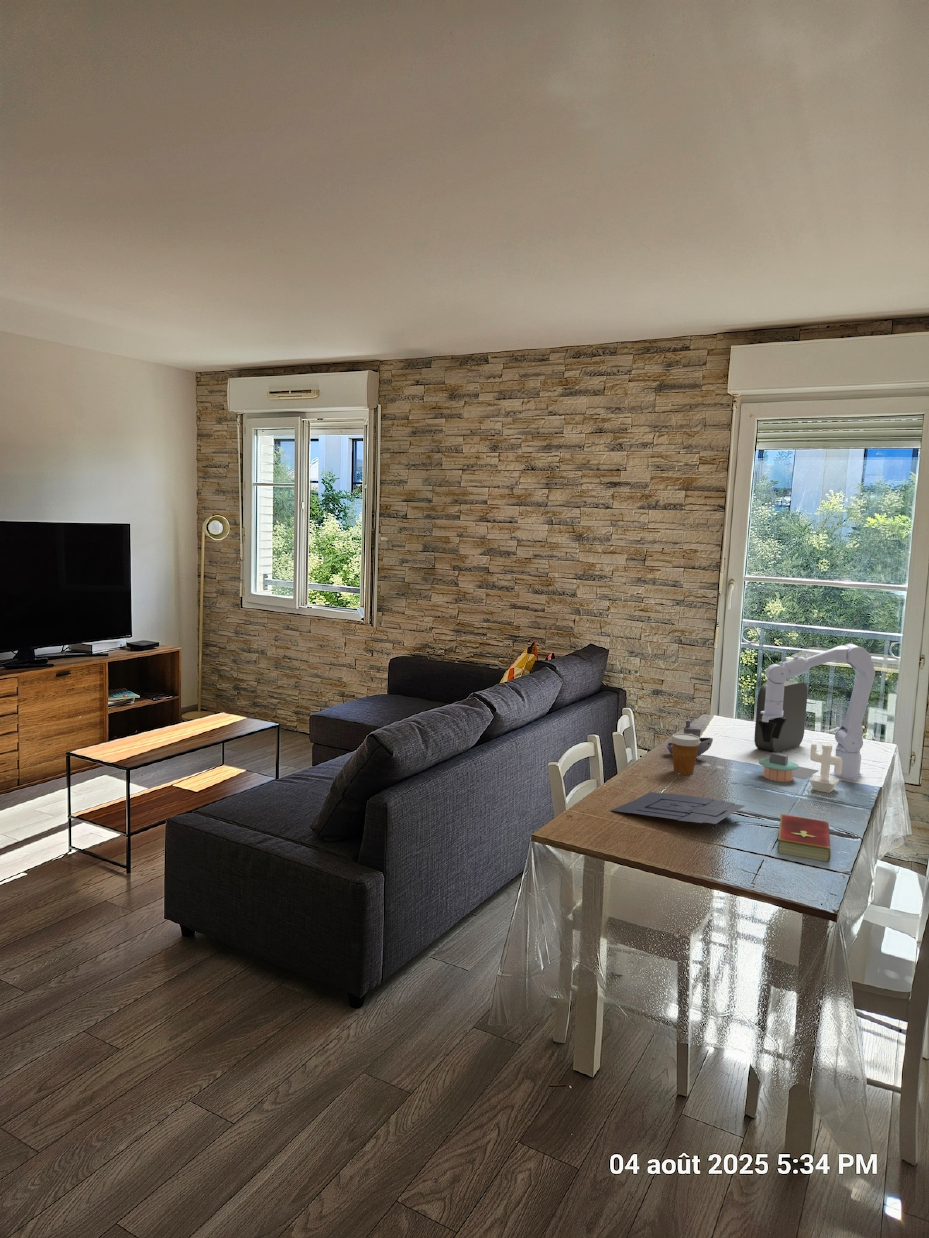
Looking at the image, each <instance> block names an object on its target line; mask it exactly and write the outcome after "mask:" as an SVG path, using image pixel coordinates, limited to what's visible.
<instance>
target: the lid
mask: <svg viewBox="0 0 929 1238" xmlns="http://www.w3.org/2000/svg"><path fill="white" fill-rule="evenodd" d="M758 764H759V765H760V766H762V767H763V768H764V767H767V768H771V769H776V770H796V769H798V766H799V764H798V763H796V762H794V761H790V760H789V755H788V754H784V753H780V752H778V753H775V752H773V751H771V753H770V754H769V758H768V757H767V758H761V759H759V760H758Z"/></svg>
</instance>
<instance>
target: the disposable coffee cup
mask: <svg viewBox="0 0 929 1238" xmlns="http://www.w3.org/2000/svg"><path fill="white" fill-rule="evenodd" d="M670 740H671V741H670V742H671V743H672V751H673V754H672V765H673V767H672V768H673V773H675V774H678V775H684V776H686V775H688V776H689V775H693V774H694V770H695V767H696V762H697V757H698V756H697V752H698V747H699V745H700V743H701V742H700V739H699V737H698V736H695V735H693V734H684V733H683V732H682V733H674V734H672V736H671V738H670Z"/></svg>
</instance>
